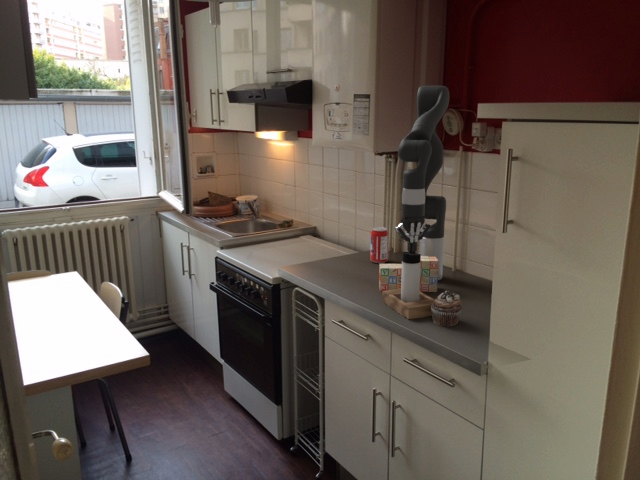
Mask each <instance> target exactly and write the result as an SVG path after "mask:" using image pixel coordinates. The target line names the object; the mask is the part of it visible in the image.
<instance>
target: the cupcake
mask: <svg viewBox="0 0 640 480" xmlns="http://www.w3.org/2000/svg"><path fill="white" fill-rule="evenodd" d="M462 309H463V306H462V300H461V299H460V294H459V293H458V292H454V291H450V290H449V289H447V290H445V291H444V292H443V291H442V292H441V293H440V294H439V295H438V296H437V297H436V298H435V299H434V304H432V306H431V310H432V316H431V317H432V321H433V323H434V324H435V325H438V326H441V327H453V326H454V327H455V325H458V322H459V321H460V316H461V315H460V314H461V312H462Z"/></svg>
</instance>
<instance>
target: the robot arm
mask: <svg viewBox="0 0 640 480" xmlns="http://www.w3.org/2000/svg"><path fill="white" fill-rule="evenodd" d="M449 103H450V90H449V88H448V86H445V85H421V86H419V87H418V90H417V93H416V109H417V110H416V111H417V119H416V120H415V121H414V124H413V125H412V128H411V129H410V131H409V132H408V134H407V135H406V136H405V137H404V138H402V140H401V142H400V143H399V145H398V147H397V156H398V158H399V159H400V161H402V162H405V163H418V164H417V167H415V168H409V169H406V170H405V171H403V175H402V177H403V178H402V192H401V220H400V223H399V224H398V225H397V226H396V225H395V226H394V230H395V231H396V233H397V234H398V235H399V237H400V238H401V240H402V241H405V242H407V245H406V246H407V248H406V249H407V252H409V253H417V250H418V242H419V252H418V254H421V256H428V257H436V258H437V260H438V281H440V280H442V279H443V270H444V268H443V267H444V250H445V249H444V246H445V223H446V215H447V214H446V212H447V199H446V197H445V196H442V195H428V193H427V192H428V190H429V188H430V185H431V183H432V182H433V180H434V179H435V177H436V176H437V175H438V174H439V172H440V170H441V169H442V166H443V164H444V146H443V143H442V141H441V139H440V137H439V136H438V135H437V133H436V132H435V129H436V127H437V125H438V123H439V122H440V121H441V119H442V117H443V116H444V114H445V113H446V111H447V110H448V107H449ZM425 220H436V221H435V223H433V224H428V223H427V222H426V221H425ZM404 230H405V232H404Z"/></svg>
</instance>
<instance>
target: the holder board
mask: <svg viewBox="0 0 640 480" xmlns="http://www.w3.org/2000/svg"><path fill="white" fill-rule="evenodd" d="M381 293H382V294H381V295H382V300H381V301H382V303H383V304H385V305H386V306H388V307H389V308H390V307H391V309H392V310H393V309H394V311H395V312H396V311H397V312H396V313H398V314H399V313H400V314H399V315H401V316H402V315H403V316H402V317H404V318H405V317H406V319H407V320H408V319H410V320H415V319H419V318H421V319H422V318H426V317H432V310H431V306H432V304H434V300H435V299H434V298H433V297H431V296H429V295H427V294H426V293H425V292H420V294H419V301H415V302H409V303H405V302H403V301H402V300H401V289H394V290H387V291H381ZM414 318H415V319H414Z"/></svg>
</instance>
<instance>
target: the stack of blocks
mask: <svg viewBox="0 0 640 480" xmlns="http://www.w3.org/2000/svg"><path fill="white" fill-rule="evenodd" d="M420 260H421V263H420V264H421V265H420V292H422V293H437V292H438V281H439V280H438V260H437V258H436V257H428V256H421V259H420ZM378 267H379V268H378V269H379V272H378V280H379V281H378V287H379V292H382V291H387V290H394V289H401V275H402V263H379V266H378Z"/></svg>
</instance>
